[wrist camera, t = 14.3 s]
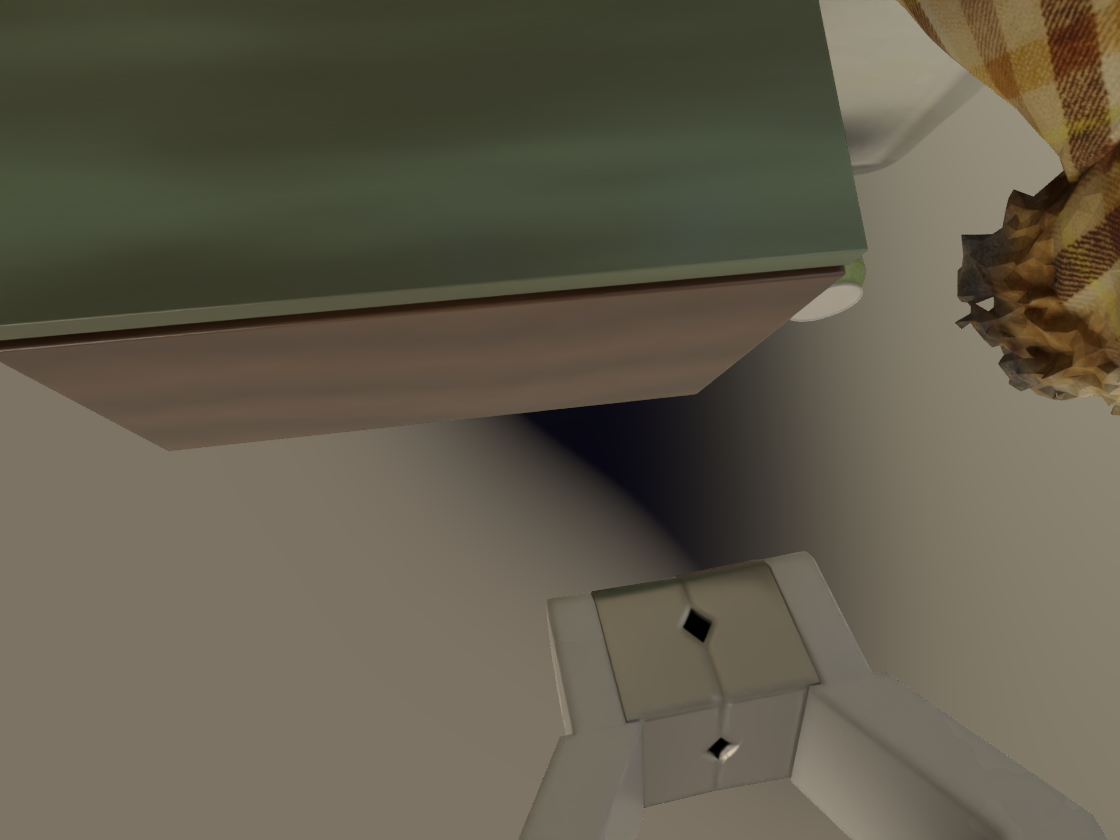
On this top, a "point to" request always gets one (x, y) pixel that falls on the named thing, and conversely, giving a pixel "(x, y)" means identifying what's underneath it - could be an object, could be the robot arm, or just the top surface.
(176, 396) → the cupboard
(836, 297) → the beverage can
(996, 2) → the plaid cloth bag
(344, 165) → the door
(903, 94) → the top surface
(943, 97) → the top surface
